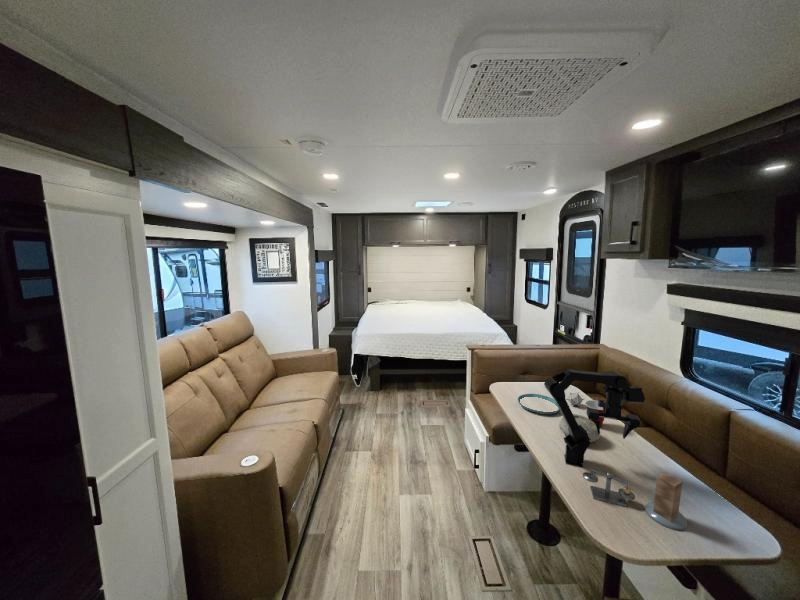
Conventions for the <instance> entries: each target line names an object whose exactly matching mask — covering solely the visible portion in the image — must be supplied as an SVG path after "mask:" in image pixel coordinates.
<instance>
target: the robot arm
mask: <svg viewBox="0 0 800 600" xmlns="http://www.w3.org/2000/svg"><path fill="white" fill-rule="evenodd" d="M575 381H576V382H585V383H593V384H601V385H604V386H602V387H601V390H602V391H604V392H606V394H605V395H606V398H605V400H604V399H598V400H597V401H598V407H603V411H604V412H605V413H600V412H598V410H597V409H592V408H588V409H587V408H586V412H585V413H586V417H587V418H588V419H591V420H592V421H594V422H595V424H596V428H597V432H598V434H599V433H600V434H601V427H600V421H599V417H602V418H604V419H609V420H614V421H620V422H624V428H623V432H622V438H623V439H624V440H625V439H626V438H627V436H628V435H629V434H630V433H631V432H632V431H633V430H634V429H637V428H642V421H641V420H640V418H639V416H638V415H636V414H629V413H626V414H625V416H623V415H622V411H623V401H624V402H625V403H629V404H630V403H631V404H643V403H644V402H645V401H646V396H645V394H644V391H643V388H642V387H640V386H639V385H638V386H637V385H636V386H629V384H628V380H627V377H626V376H625V375H622V374H620V373H619V372H617V371H615V370H604V371H602V372H601V371H600V372H597V371H596V372H595V371H589V370H588V371H586V370H576V369H571V368H566V369H564V370H563V371H561V372H559V373H556V374H554V375H553V376H552V377H548V378H547V379H545V381H544V383H543V385H544V388H545V389H546V390H547V391H548V393H549V394H550V395H551V398H553V399H555V401H556V403H557V405H558V407H559V409H560V410H559V412H560V413H561V415H562V418H563V417H564V419H565V421H566V423H567V425H568V432H569V435H565V437H563V440H564V443H565V453H564V461H565V464H567V465H569V466H570V465H571V466H575V467H580V468H583V467H584V462H585V461H584V460H585V453H586V451H587V449H588V448H589V447H590V445H591V442H590V441H589V440H591V439H590V438H589V437H588V434H587V431H586V430H585V429H584V428H583V427H582V426H581V425H579V426H578V424H577V422H576V420H575V418H574V416H573V414H574V413H573V412H572V410H571V408H570V406H569V404H568V402H567V401H568V400H566V399H567V398H566V393H565V391H566V390H568V388H569V387H570V386H571V385H572V383H574V382H575Z"/></svg>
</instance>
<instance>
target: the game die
mask: <svg viewBox="0 0 800 600" xmlns="http://www.w3.org/2000/svg"><path fill="white" fill-rule="evenodd" d="M565 399H566V401H568V402H569V403H570V404H571V406H572V405H580V406H581V404H582V402H583V401H584V400H585V398H584V399H583V398H582V396H580V394H579V392H577V393H572V392H569V396H568V398H565Z"/></svg>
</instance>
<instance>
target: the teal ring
mask: <svg viewBox="0 0 800 600" xmlns="http://www.w3.org/2000/svg"><path fill="white" fill-rule="evenodd" d="M524 397H538V398H542V399H545V400H548V401H550V402H552V403H554V404H555V405H556V406H557V407H558V405H557V403H556V401H555V399H554V398H553V397H550V396H547V395H545V394H544V395H542V394H538V393H525V394H521V395H519V396H518V397H517V402H518V403H519V405H520V406H521V407H522V408H523V409H525V410H526V409H527V411H528V410H529V412H530V411H532V412H531V413H533V412H536V413H535V414H537V413H541V414H540V415H544V414H549V415H554V414H556V413H558V412H560V409H559V407H558V410H557V411H553V412H543V411H537V410H533V409H530V408H527V407H525V406H523V405H522V404H521V403H520V399H522V398H524ZM553 413H554V414H553Z"/></svg>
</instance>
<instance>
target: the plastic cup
mask: <svg viewBox="0 0 800 600" xmlns="http://www.w3.org/2000/svg"><path fill="white" fill-rule="evenodd" d="M584 405H585V407H586V410H587V409H588V408H592V409H597V410H598V412H600V413H605V412H604V411H603V407H598V400H594V399H593V400H592V399H590V400H586V401H584ZM588 419H589V418H588ZM589 420H591V419H589ZM604 420H605V418H602V417H599V421H600V426H602V427H603V424H604ZM591 421H592V420H591ZM592 422H594V421H592ZM594 423H595V422H594Z"/></svg>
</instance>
